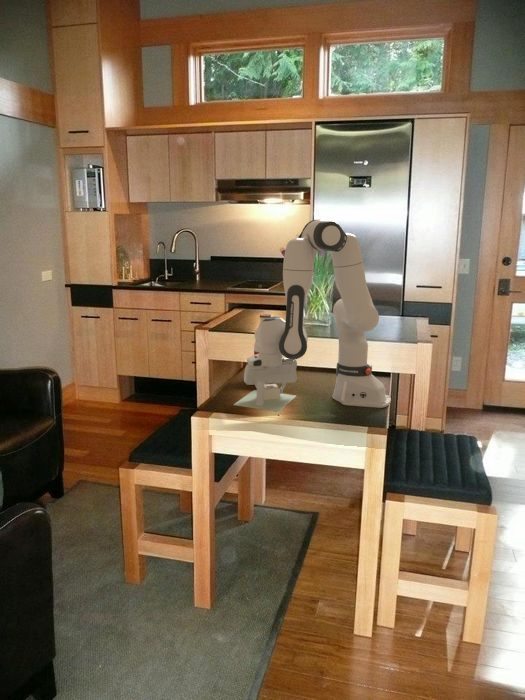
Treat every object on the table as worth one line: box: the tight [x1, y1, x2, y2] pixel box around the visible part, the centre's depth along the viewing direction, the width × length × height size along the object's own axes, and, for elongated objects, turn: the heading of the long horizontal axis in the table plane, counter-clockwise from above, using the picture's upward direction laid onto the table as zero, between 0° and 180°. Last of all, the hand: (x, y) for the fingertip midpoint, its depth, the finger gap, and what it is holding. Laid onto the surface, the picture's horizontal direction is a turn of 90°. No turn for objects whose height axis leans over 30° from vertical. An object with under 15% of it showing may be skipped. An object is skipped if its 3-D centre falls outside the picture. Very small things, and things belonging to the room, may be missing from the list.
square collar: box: [264, 383, 280, 400], centre depth 212 cm, size 6×6×4 cm
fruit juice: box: [253, 313, 272, 356], centre depth 242 cm, size 9×9×28 cm
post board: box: [233, 380, 297, 417], centre depth 208 cm, size 18×20×10 cm
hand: (270, 394), depth 213 cm, fingers open, 7 cm apart
